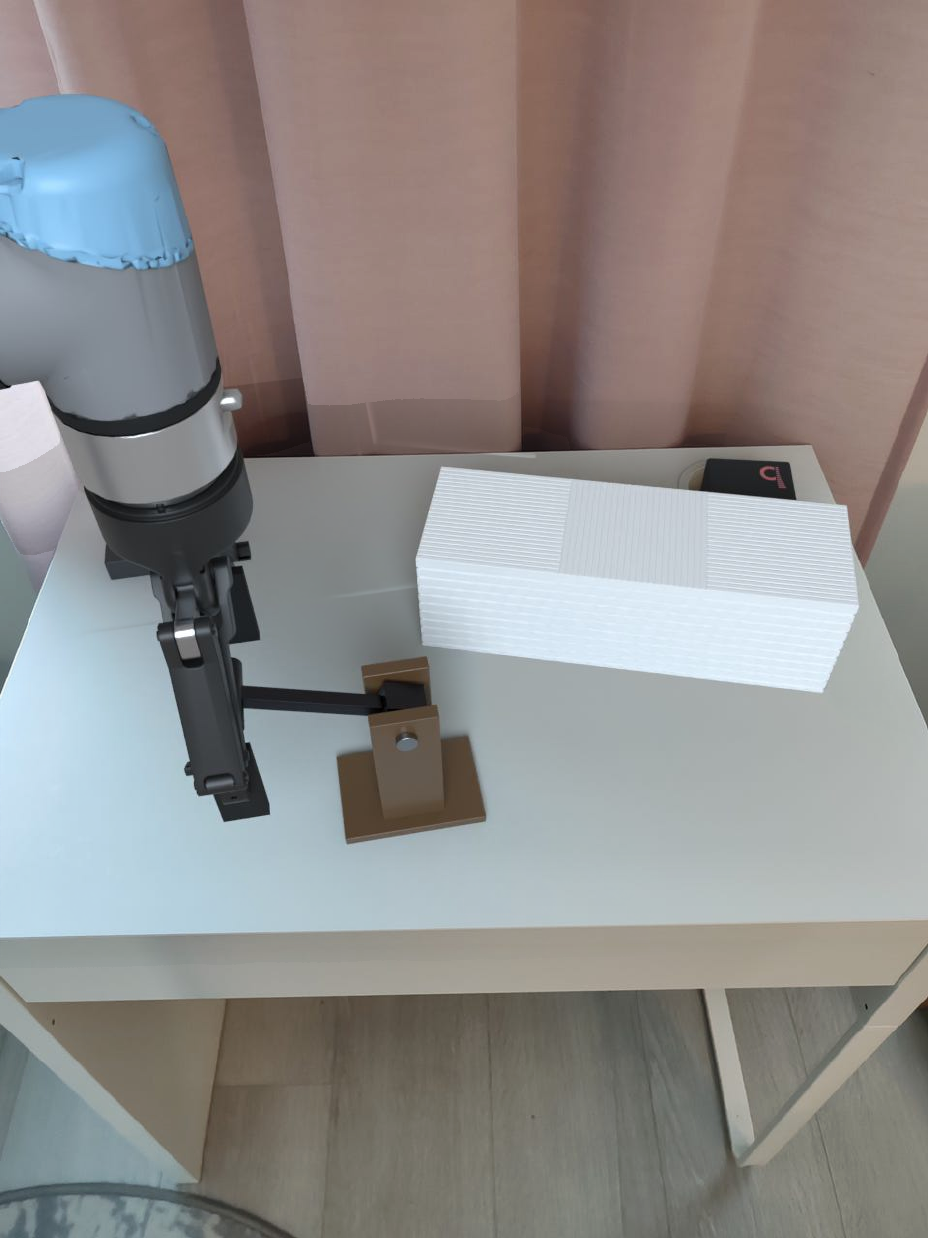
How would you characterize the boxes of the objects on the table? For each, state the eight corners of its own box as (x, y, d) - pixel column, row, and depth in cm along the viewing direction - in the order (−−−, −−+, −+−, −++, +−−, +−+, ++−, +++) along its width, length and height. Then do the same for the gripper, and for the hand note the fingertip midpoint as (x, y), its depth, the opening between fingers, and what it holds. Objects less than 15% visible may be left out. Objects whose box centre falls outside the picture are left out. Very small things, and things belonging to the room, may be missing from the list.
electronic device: (705, 580, 87) (715, 539, 83) (697, 498, 94) (706, 457, 90) (792, 585, 86) (806, 544, 83) (778, 502, 93) (790, 461, 90)
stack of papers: (422, 649, 82) (415, 558, 74) (445, 558, 89) (441, 465, 81) (820, 697, 78) (859, 606, 70) (812, 598, 85) (846, 504, 77)
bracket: (347, 848, 71) (325, 747, 61) (338, 766, 75) (316, 660, 65) (486, 825, 72) (486, 722, 62) (468, 745, 76) (466, 638, 66)
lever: (214, 740, 60) (221, 716, 58) (213, 675, 63) (219, 651, 62) (421, 750, 65) (432, 728, 63) (410, 689, 68) (421, 667, 66)
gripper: (250, 648, 39) (318, 890, 55) (234, 308, 56) (290, 571, 72) (55, 676, 39) (181, 914, 55) (96, 323, 55) (184, 586, 71)
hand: (243, 720), depth 63 cm, fingers open, 13 cm apart
